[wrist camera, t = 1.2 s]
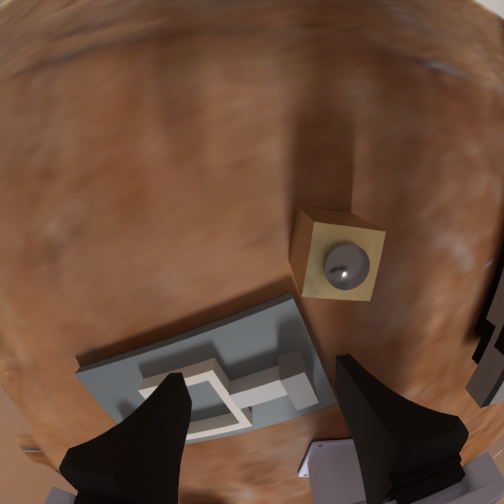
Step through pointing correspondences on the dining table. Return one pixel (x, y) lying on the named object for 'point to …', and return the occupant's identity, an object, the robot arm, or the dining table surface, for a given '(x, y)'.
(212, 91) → the dining table surface
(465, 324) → the dining table surface
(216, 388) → the base
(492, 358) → the game console
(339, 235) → the block
